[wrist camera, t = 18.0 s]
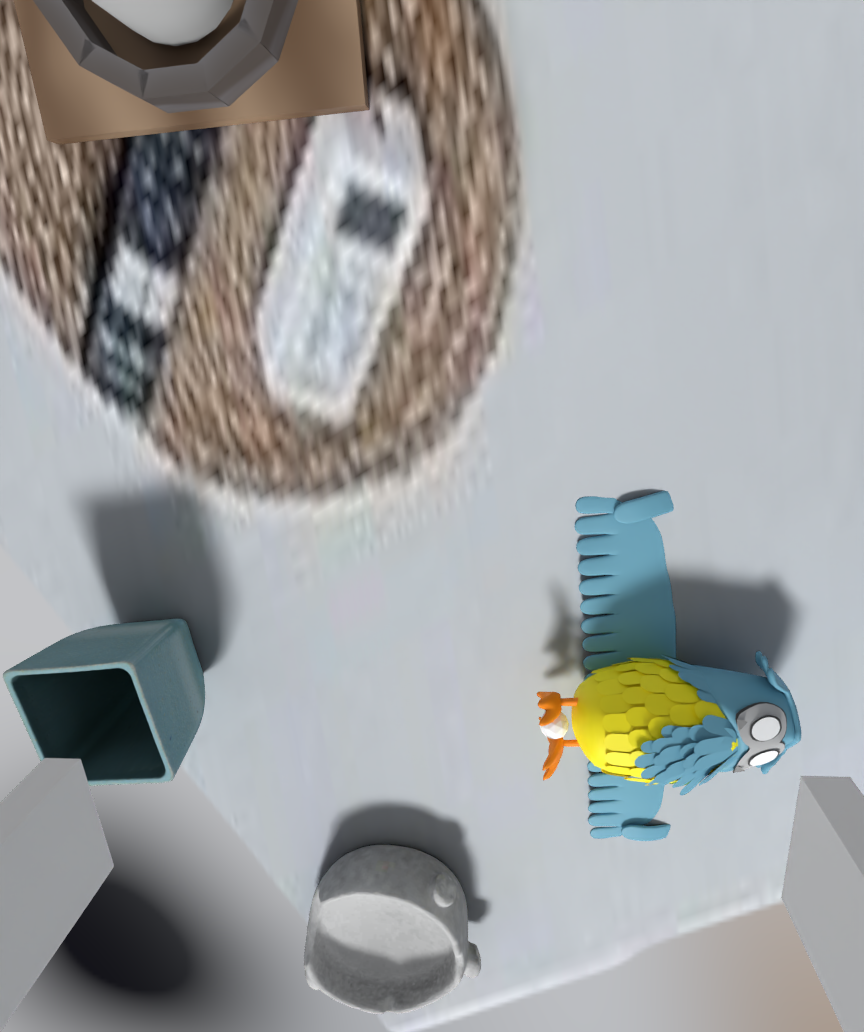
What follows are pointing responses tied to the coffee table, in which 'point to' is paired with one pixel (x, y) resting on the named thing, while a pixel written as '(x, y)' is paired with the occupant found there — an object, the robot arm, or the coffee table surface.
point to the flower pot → (114, 700)
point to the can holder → (191, 68)
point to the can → (169, 18)
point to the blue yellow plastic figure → (653, 684)
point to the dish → (388, 931)
